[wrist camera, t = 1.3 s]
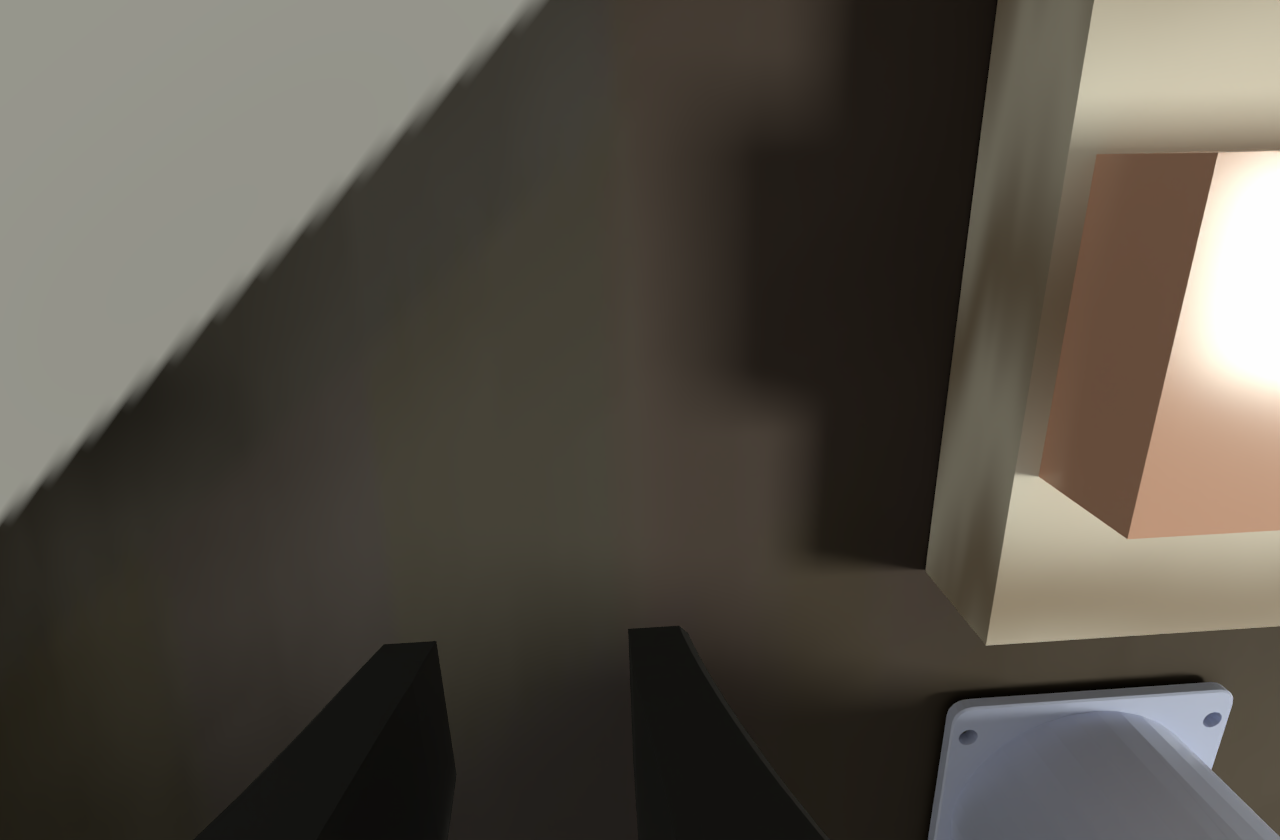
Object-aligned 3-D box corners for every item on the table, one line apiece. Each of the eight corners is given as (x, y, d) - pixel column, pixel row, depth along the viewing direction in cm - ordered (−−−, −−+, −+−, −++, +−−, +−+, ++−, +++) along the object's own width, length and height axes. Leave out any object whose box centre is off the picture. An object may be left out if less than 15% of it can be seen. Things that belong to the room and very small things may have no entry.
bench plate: (1259, 550, 19) (1376, 620, 16) (925, 571, 18) (985, 645, 16) (1451, -75, 14) (1669, -134, 11) (1006, -69, 14) (1116, -130, 11)
